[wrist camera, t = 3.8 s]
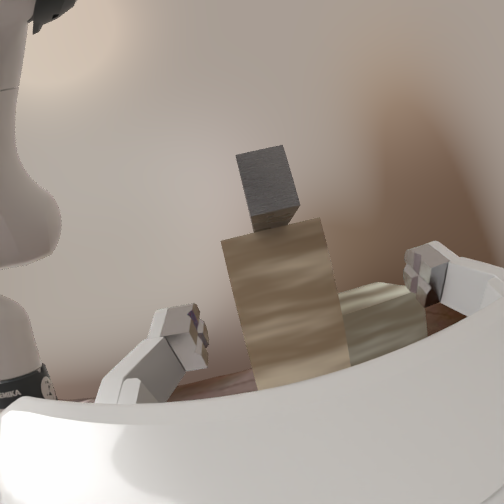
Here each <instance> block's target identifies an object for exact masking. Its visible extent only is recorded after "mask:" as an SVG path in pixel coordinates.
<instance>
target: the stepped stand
mask: <svg viewBox="0 0 504 504" xmlns="http://www.w3.org/2000/svg"><path fill="white" fill-rule="evenodd" d="M221 244H222V249H223V253H224V257H225V262H226V265H227V270H228V274H229V278H230V283H231V287H232V291H233V295H234V299H235V303H236V307H237V311H238V315H239V319H240V323H241V327H242V331H243V335H244V339H245V343H246V347H247V351H248V354H249V358H250V362H251V366H252V370H253V373H254V377H255V381H256V384H257V388H258V391H259V390H264V389H269V388H273V387H278V386H283V385H287V384H291V383H295V382H299V381H303V380H307V379H311V378H315V377H318V376H322V375H326V374H329V373H332V372H336V371H339V370H342V369H345V368H349V367H352V366H355V365H358V364H361V363H364V362H366V361H369V360H372V359H375V358H378V357H380V356H383V355H386V354H388V353H391V352H393V351H396V350H398V349H401V348H403V347H406V346H408V345H410V344H413V343H415V342H417V341H420V340H422V339H424V338H426V337H427V325H426V315H425V308H424V307H423V306H422V305H421V304H420V302H419V301H418V300H417V299H416V294H415V293H413V292H410V291H409V290H408V289H407V287H406V286H403V285H395V284H386V283H380V282H375V283H372V284H369V285H365V286H362V287H358V288H355V289H352V290H348V291H345V292H341V293H338V292H337V287H336V283H335V278H334V273H333V269H332V265H331V260H330V256H329V252H328V248H327V244H326V239H325V235H324V232H323V228H322V224H321V220H320V218H315V219H311V220H306V221H302V222H298V223H294V224H289V225H285V226H281V227H276V228H272V229H268V230H264V231H259V232H255V233H251V234H247V235H243V236H239V237H235V238H231V239H227V240H223V241H221Z"/></svg>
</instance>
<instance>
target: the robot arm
mask: <svg viewBox="0 0 504 504" xmlns="http://www.w3.org/2000/svg"><path fill="white" fill-rule="evenodd" d="M76 1H77V0H0V270H3V269H8V268H13V267H19V266H24V265H28V264H31V263H33V262H35V261H38V260H40V259H43V258H45V257H47V256H50V255H51V254H52V253H53V251H54V250H55V248H56V246H57V244H58V241H59V238H60V234H61V215H60V211H59V207H58V205H57V203H56V201H55V199H54V198H53V196H52V195H51V194H50V193H49V192H48V191H47V190H45V189H44V188H42V187H41V186H39V185H38V184H37V183H36V182H34V180H32V178H31V177H30V176H29V175H28V173H27V172H26V171H25V169H24V167H23V166H22V163H21V161H20V159H19V156H18V153H17V148H16V142H15V113H16V102H17V95H18V86H19V83H20V77H21V70H22V64H23V58H24V50H25V43H26V37H27V28H28V23H29V22H31V21H33V23H34V24H33V34H35V33H38V32H39V31H40V29H41V27H42V25H43V24H46V23H48V22H50V21H53V20H55V19H57V18H58V17H60V16H61V15H62V14H64V13H65V12H67V11H68V10H69V9H70V8H72V7H73V6H74V4H75V2H76ZM404 260H405V262H406V263H407V265H406V266H405V268H404V270H403V279H404V283H405V285H406V287H407V289H408V290H409V291H410V292H413V293H415V294H416V299H417V300H418V301H419V302H420V304H421V305H422V306H423V307H424V308H425V307H428V306H431V305H433V304H436V303H438V302H441V303H442V304H444V305H446V306H448V307H450V308H452V309H454V310H456V311H458V312H460V313H462V314H464V315H466V316H468V317H467V318H465V319H463V320H461V321H459V322H457V323H455V324H453V325H451V326H449V327H447V328H445V329H443V330H441V331H439V332H437V333H435V334H433V335H431V336H429V337H426V338H424V339H422V340H420V341H417V342H415V343H413V344H410V345H408V346H406V347H403V348H401V349H398V350H396V351H393V352H391V353H388V354H386V355H383V356H380V357H378V358H375V359H372V360H369V361H366V362H364V363H361V364H358V365H355V366H352V367H349V368H345V369H342V370H339V371H336V372H332V373H329V374H326V375H322V376H318V377H315V378H311V379H307V380H303V381H299V382H295V383H291V384H287V385H283V386H278V387H273V388H269V389H264V390H259V391H253V392H248V393H242V394H236V395H229V396H223V397H215V398H207V399H199V400H189V401H178V402H166V401H167V400H168V398H169V397H170V395H171V394H172V392H173V391H174V389H175V388H176V386H177V385H178V383H179V382H180V380H181V379H182V378H183V376H184V374H185V373H186V372H185V371H191V370H197V369H203V368H208V352H207V350H206V348H207V346H208V345H209V337H208V331H207V328H206V325H205V323H204V321H203V320H202V319H200V318H199V315H200V311H199V309H198V307H197V305H196V304H195V303H192V304H186V305H181V306H175V307H170V308H164V309H159V310H157V311H156V312H155V314H154V317H153V320H152V324H151V327H150V330H149V334H148V337H147V339H145V340H143V341H142V342H141V343H139V344H138V345H137V346H136V347H135V348H134V349H133V350H132V351H131V352H130V353H129V354H128V355H127V356H126V357H125V358H124V359H123V360H122V361H121V362H120V363H118V364H117V366H116V367H114V368H113V369H112V370H111V371H110V372H109V373H108V374H107V375H106V376H105V377H104V378H103V379H102V382H101V385H100V388H99V391H98V394H97V397H96V400H95V403H82V402H68V401H58V399H57V396H56V393H55V390H54V387H53V384H52V382H51V379H50V376H49V374H48V371H47V369H46V366H45V364H43V363H42V362H41V359H40V356H39V352H38V349H37V346H36V342H35V339H34V335H33V331H32V327H31V323H30V319H29V316H28V314H27V312H26V311H25V309H24V308H23V307H22V306H21V305H20V304H19V303H17V302H16V301H14V300H11V299H10V298H7V297H5V296H3V295H0V504H504V268H501V267H497V266H494V265H490V264H486V263H483V262H479V261H475V260H472V259H468V258H464V257H461V258H459V257H458V256H457V255H455V254H454V253H453V252H452V251H450V250H449V249H448V248H446V247H445V246H444V245H442V244H441V243H440V242H438V241H433V242H430V243H427V244H425V245H422V246H418V247H415V248H412V249H409V250H407V251H406V253H405V258H404Z"/></svg>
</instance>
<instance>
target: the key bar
mask: <svg viewBox="0 0 504 504" xmlns="http://www.w3.org/2000/svg"><path fill="white" fill-rule="evenodd" d="M236 159H237V164H238V168H239V172H240V176H241V180H242V185H243V189H244V193H245V198H246V202H247V206H248V210H249V215H250V219H251V223H252V227H253V231H254V233H255V232H259V231H264V230H268V229H272V228H276V227H281V226H285V225H288V223H289V222H290V220H291V219H292V217H293V216H294V214H295V212H296V211H297V209H298V208H299V206H300V203H299V199H298V195H297V192H296V188H295V185H294V181H293V178H292V174H291V171H290V168H289V164H288V161H287V157H286V154H285V151H284V148H283V145H280V146H276V147H270V148H266V149H261V150H257V151H252V152H247V153H243V154H239V155H236Z"/></svg>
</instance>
